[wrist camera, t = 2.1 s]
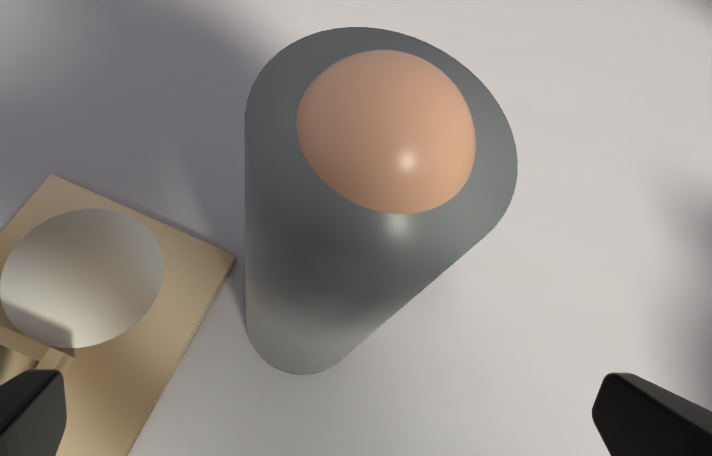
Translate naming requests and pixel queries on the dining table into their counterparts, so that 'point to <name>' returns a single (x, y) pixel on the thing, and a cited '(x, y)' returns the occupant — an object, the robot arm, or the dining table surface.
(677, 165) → the dining table surface
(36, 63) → the dining table surface
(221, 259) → the tan wooden tray
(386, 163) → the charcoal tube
